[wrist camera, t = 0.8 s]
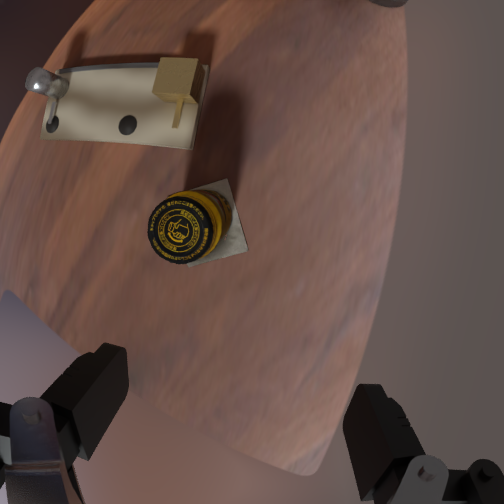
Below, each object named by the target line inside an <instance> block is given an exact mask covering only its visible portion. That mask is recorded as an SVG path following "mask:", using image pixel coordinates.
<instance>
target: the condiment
mask: <svg viewBox="0 0 504 504" xmlns="http://www.w3.org/2000/svg"><path fill="white" fill-rule="evenodd" d="M226 234H227V237H226V236H225V235H226ZM225 237H226V240H225V241H224V238H225ZM148 238H149V241H150V243H151V246H152V248H153V249H154V251H155V252H156V253H157V254H158V255H159V256H160V257H161V258H163V259H165V260H167V261H169V262H170V263H176V264H187V265H188V267H191V266H194V265H198V264H201V263H205V262H209V261H212V260H216V259H220V258H222V257H227V256H231V255H235V254H238V253H242V252H246V251H248V248H247V244H246V241H245V237H244V234H243V231H242V227H241V224H240V220H239V217H238V213H237V209H236V206H235V203H234V199H233V196H232V192H231V189H230V185H229V182H228V179H223V180H220V181H217V182H213V183H210V184H207V185H204V186H201V187H198V188H194V189H191V190H187V191H182V192H177V193H175V194H173V195H171V196H169V197H167V198H166V200H164V201H163V202H161V203H160V204H159V205H158V206H157V207H156V208H155V210H154V211H153V212H152V214H151V216H150V218H149V222H148Z"/></svg>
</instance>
